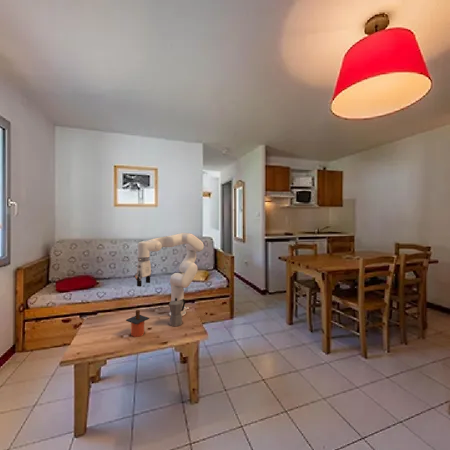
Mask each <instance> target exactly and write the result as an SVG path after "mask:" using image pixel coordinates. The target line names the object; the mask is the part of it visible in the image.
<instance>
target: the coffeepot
mask: <svg viewBox="0 0 450 450" xmlns="http://www.w3.org/2000/svg"><path fill="white" fill-rule="evenodd" d="M182 305H183V306H182ZM184 307H186V300H185V298H184V299H182V300H180V301H179V300H177V298H175V301H171V300H170V302H168V308H169V310H170V311H169V313H170V312H171V316H170V315H169V322H168V325H169V326H171V327H180V326H182V325H183V323H184V322H183V316H182V315H181V311H183V310H184Z"/></svg>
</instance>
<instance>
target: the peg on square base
mask: <svg viewBox="0 0 450 450" xmlns="http://www.w3.org/2000/svg"><path fill="white" fill-rule="evenodd" d="M148 320H150V317H148V316H145V315H142V314H141V310H140V309H136V310H135V315H134V316H132V317H129V318H127V319H125V322H128V323H130V324H131V323H134V324H138V323H141V322H143V321H144V322H145V321H148Z"/></svg>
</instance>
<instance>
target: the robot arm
mask: <svg viewBox="0 0 450 450" xmlns="http://www.w3.org/2000/svg"><path fill="white" fill-rule="evenodd" d="M180 245H185V249H186V255H185V257H184V258H183V260H182V262H181V263H180V264H179V267H178V270H179V272H174V273H172V274H171V275H170V278H169V283H170V284H169V285H170V293H171V294H170V302H171V301H175V298H177V300H179V301H180V300H182V299H184V300H185V290H184V289H186V288H189V286H190V285H191V284H192V282H193V280H194V279H195V277H196V275H197V274H198V270H199V267H198V265H197V264H196V263H195V262H196V260H197V252H199V253H200V252H202V251H203V250H204V247H205V245H204V243H203V241H202V240H200V238H198V237H197V236H196V235H194V234H193V233H190V232H180V233H176V234H171V235H165V236H161V237H160V236H159V237H154V238H150V239H147V240H142V241H139V242H137V264H136V267H137V268H136V273H135V274H134V278H135V280H136V287H142V285H143V283H142V279H143V278H145V283H146V284H151V276H152V272H153V270H152V265H151V259H150V258H151V256H150V254H151V252H159V251H161V250H162V248H174V247H177V246H180ZM182 306H183V305H182ZM188 310H190V307H189V306H184V310H183V311H181V315H182V317H184V316H185V315H186V314H187V311H188ZM168 315H169V317H170V316H171V312H170V311H169V312H168Z"/></svg>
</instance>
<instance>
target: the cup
mask: <svg viewBox="0 0 450 450" xmlns="http://www.w3.org/2000/svg"><path fill="white" fill-rule="evenodd" d="M144 334H145V321H143V322H141V323H138V324H134V323H131V322H130V336H131V337H134V338H138V337H142V336H143V335H144Z"/></svg>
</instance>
